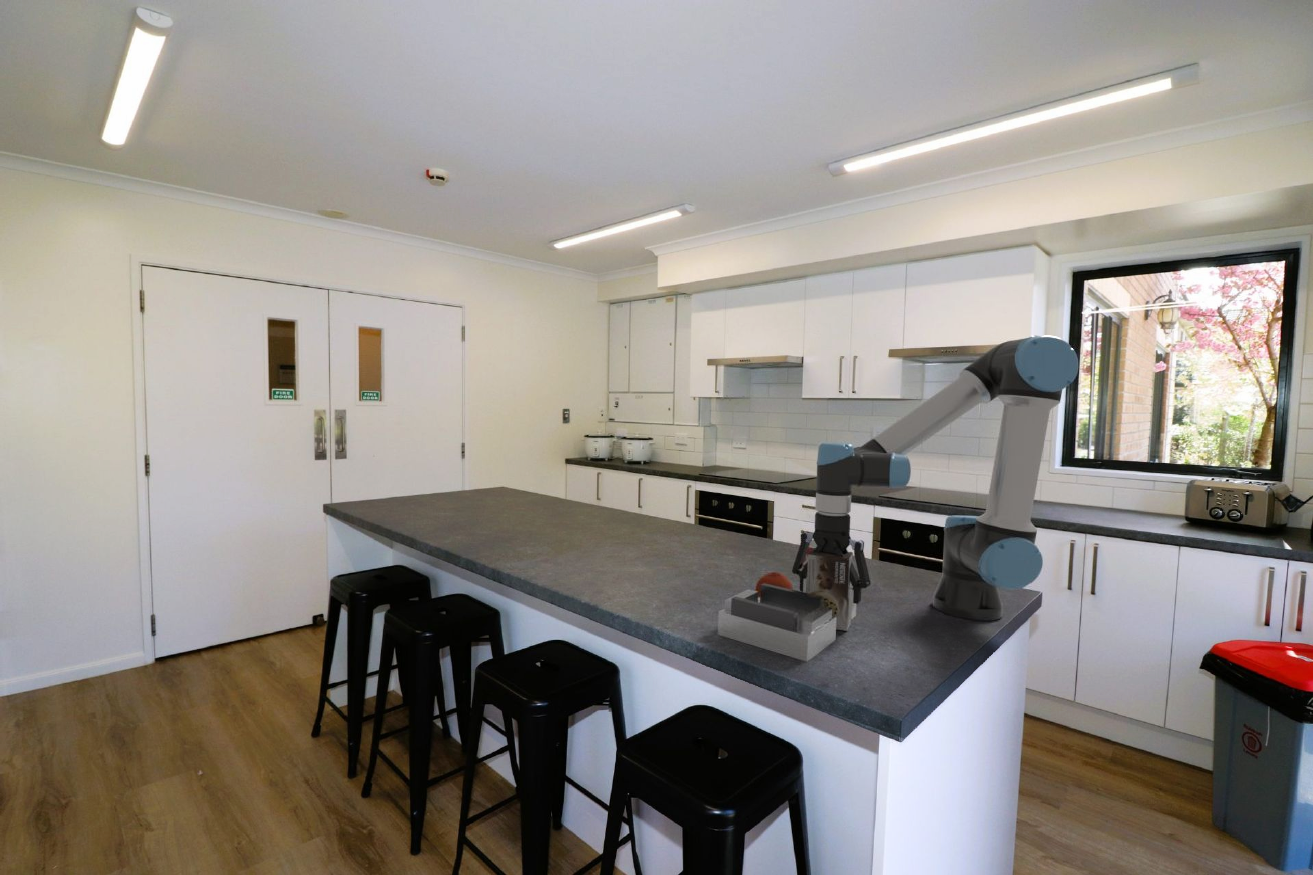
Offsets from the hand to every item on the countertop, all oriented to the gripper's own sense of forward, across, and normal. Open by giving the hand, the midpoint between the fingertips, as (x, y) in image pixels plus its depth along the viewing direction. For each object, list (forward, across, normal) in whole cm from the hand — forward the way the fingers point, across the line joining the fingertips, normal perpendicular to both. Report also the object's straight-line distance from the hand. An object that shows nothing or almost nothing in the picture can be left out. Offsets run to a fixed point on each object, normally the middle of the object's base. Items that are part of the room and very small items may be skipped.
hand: (828, 611), depth 137 cm
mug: (+3, +10, -19) cm, 22 cm away
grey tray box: (+3, +5, +15) cm, 16 cm away
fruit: (+3, +15, -3) cm, 16 cm away
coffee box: (+3, 0, 0) cm, 3 cm away
